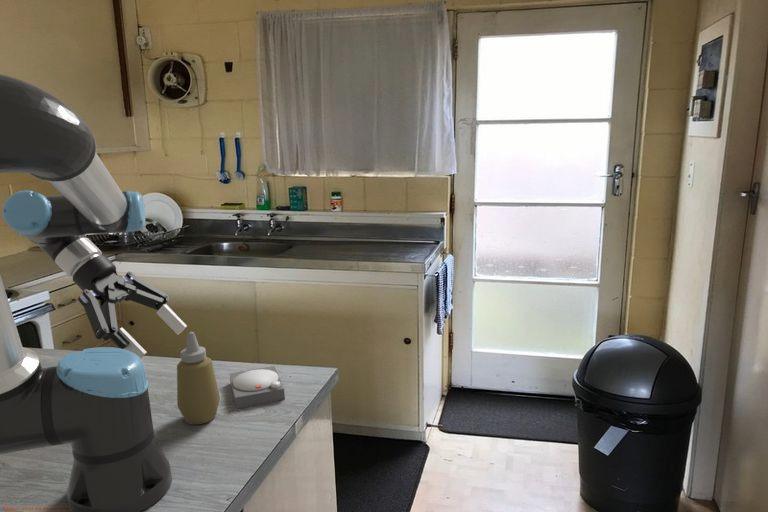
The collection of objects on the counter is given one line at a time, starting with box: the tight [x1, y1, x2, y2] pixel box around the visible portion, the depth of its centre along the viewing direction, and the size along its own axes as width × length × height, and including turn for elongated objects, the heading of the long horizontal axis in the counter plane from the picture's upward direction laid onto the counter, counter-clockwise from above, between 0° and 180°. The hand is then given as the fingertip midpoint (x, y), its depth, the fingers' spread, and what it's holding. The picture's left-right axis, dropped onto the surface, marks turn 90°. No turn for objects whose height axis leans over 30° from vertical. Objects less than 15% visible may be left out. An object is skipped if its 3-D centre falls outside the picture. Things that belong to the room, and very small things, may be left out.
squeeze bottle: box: [176, 331, 221, 425], centre depth 111 cm, size 8×8×18 cm
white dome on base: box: [229, 365, 286, 409], centre depth 123 cm, size 12×10×3 cm
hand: (163, 343), depth 112 cm, fingers open, 13 cm apart
